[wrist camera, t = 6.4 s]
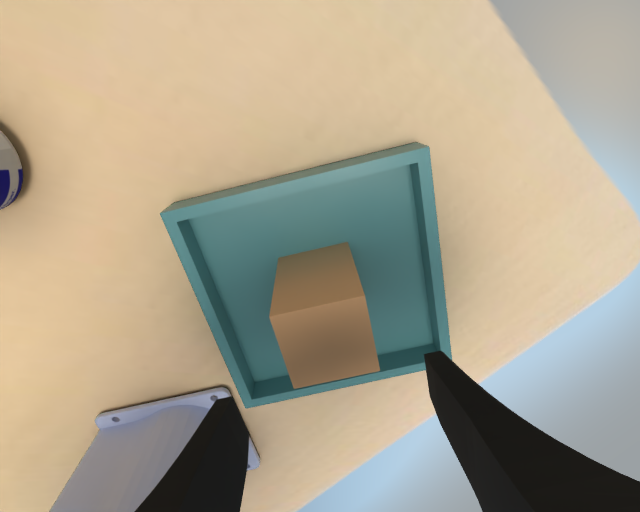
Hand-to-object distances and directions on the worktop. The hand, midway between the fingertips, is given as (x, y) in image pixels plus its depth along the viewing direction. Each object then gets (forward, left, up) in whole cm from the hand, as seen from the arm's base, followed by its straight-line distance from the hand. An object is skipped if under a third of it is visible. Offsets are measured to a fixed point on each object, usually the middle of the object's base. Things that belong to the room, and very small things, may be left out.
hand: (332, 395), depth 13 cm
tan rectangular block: (0, 0, -9) cm, 9 cm away
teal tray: (0, 0, -9) cm, 9 cm away
